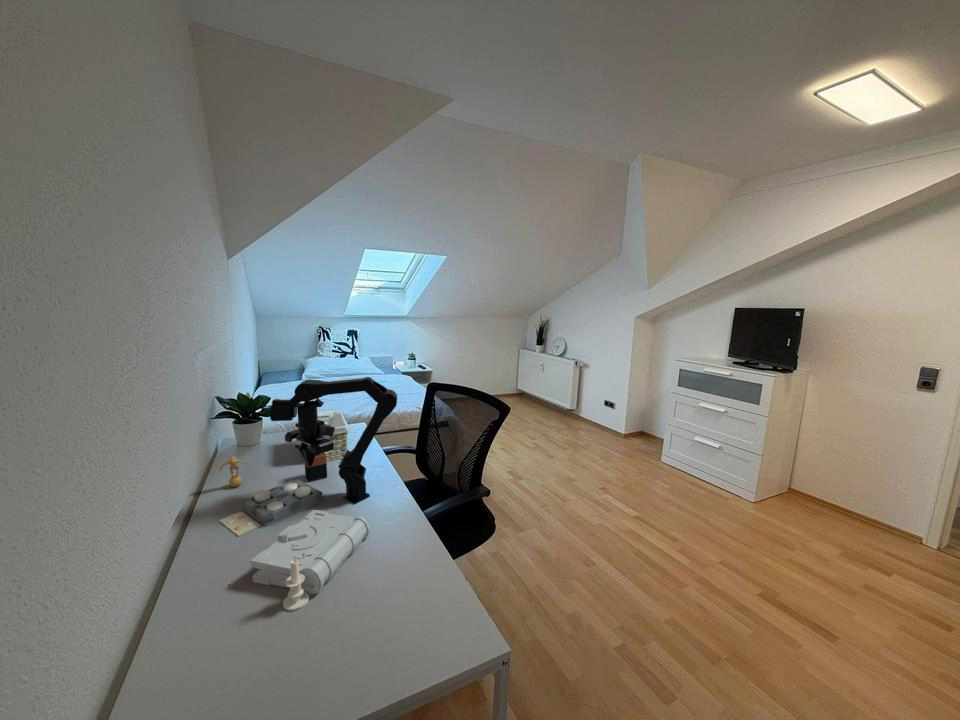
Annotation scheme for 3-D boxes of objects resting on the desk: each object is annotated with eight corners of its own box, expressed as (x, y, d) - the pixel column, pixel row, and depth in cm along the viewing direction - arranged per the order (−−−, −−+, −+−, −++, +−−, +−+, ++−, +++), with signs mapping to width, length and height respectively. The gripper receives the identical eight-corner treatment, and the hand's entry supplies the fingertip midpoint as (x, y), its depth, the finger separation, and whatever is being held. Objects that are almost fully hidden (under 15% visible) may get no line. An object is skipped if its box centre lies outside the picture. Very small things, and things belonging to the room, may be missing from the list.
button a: (313, 494, 125) (312, 488, 124) (300, 500, 121) (299, 494, 121) (305, 490, 127) (305, 484, 127) (292, 495, 123) (292, 490, 123)
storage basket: (350, 459, 158) (349, 425, 156) (307, 466, 151) (305, 430, 148) (341, 439, 179) (340, 409, 177) (303, 445, 171) (301, 413, 169)
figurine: (250, 481, 137) (247, 449, 135) (249, 489, 132) (246, 456, 130) (222, 486, 133) (219, 453, 131) (220, 494, 128) (217, 460, 126)
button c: (286, 510, 117) (285, 504, 117) (271, 516, 114) (271, 510, 113) (278, 505, 120) (278, 499, 120) (264, 511, 116) (263, 505, 116)
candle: (302, 589, 88) (300, 548, 87) (313, 600, 85) (311, 558, 83) (278, 602, 84) (276, 560, 83) (289, 615, 81) (287, 571, 79)
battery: (327, 477, 142) (326, 452, 140) (308, 482, 138) (306, 456, 136) (324, 473, 145) (323, 448, 144) (305, 477, 141) (303, 452, 139)
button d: (273, 498, 121) (272, 492, 121) (258, 504, 118) (258, 498, 117) (266, 494, 124) (265, 488, 123) (251, 500, 120) (251, 494, 120)
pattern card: (260, 526, 111) (260, 524, 111) (238, 536, 106) (238, 535, 106) (241, 512, 118) (241, 511, 118) (219, 521, 113) (219, 520, 113)
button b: (300, 491, 129) (300, 485, 129) (287, 496, 125) (287, 490, 125) (293, 487, 131) (292, 481, 131) (280, 492, 128) (280, 486, 127)
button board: (322, 500, 126) (322, 492, 125) (266, 526, 111) (266, 516, 111) (297, 486, 134) (296, 479, 134) (242, 509, 120) (241, 500, 119)
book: (380, 528, 112) (379, 504, 111) (319, 600, 86) (317, 569, 84) (322, 519, 117) (321, 496, 116) (247, 584, 90) (245, 555, 89)
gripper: (347, 419, 123) (349, 465, 125) (314, 408, 133) (316, 451, 136) (316, 428, 114) (318, 477, 116) (282, 416, 124) (285, 461, 127)
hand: (310, 466), depth 124 cm, fingers closed
